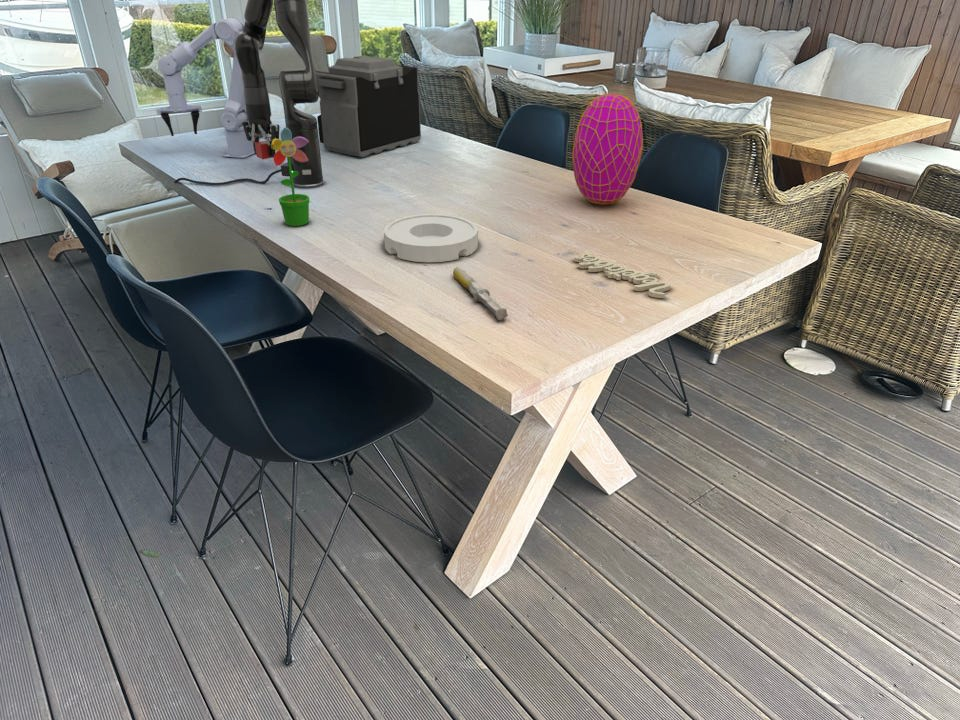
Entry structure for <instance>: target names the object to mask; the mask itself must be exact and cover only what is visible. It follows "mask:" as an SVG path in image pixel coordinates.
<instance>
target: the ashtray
mask: <svg viewBox="0 0 960 720" xmlns="http://www.w3.org/2000/svg"><path fill="white" fill-rule="evenodd" d="M383 238H384V239H383V240H384V249H385V251H386V252H387V253H388V254H390V255H396V256H397V258H398V259H401V260H403V261H410V262H415V263H416V262H417V263H443V262H450V261H455V260H459V257H461V256H464V257H468V256H470V255H472V254H473V253H474V252H475V251H477V249H478V246H479V227H478V225H477V224H475V222H473V221H471V220H469V219H468V218H465V217H461V216H459V215H457V216H456V215H451V214H446V213H445V214H443V213H421V214H420V213H419V214H413V215H407V216H403V217H399V218H397V219H394V220H392V221H391V222H388V223H387V224H386V225H385V226H384V228H383Z"/></svg>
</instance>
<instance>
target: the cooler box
mask: <svg viewBox="0 0 960 720" xmlns="http://www.w3.org/2000/svg"><path fill="white" fill-rule="evenodd" d="M316 75H317V81H318V88H319V98H318V99H319V110H320V111H319V112H320V114H319V115H317V116H316V120H317V127H318V137H319V144H323V146H324V149H325V150H327V151H330V152H335V153H340V154H344V155H348V156H353V157H357V158H362V159H363V158H366V157H367V158H368V157H369V155H371V154H375V155H377V154H381V153H382V152H383V151H391V150H395V149H396V148H397V147H405V146H407V145H408V144H416V143H418V142H419V141H421V137H422V128H421V97H420V92H419V91H420V89H419V68H418V67H417V66H408V65H400V64H396V62H395V60H394V59H393V58H385V57H377V56H367V55H356V56H353V57H350V58H349V57H343V58H342V57H341V58H337V59H336V60H335V63H334V64H333V65H330V66H329V67H328V72H327V71H320V70H316Z"/></svg>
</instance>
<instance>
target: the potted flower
mask: <svg viewBox="0 0 960 720" xmlns="http://www.w3.org/2000/svg"><path fill="white" fill-rule="evenodd" d="M279 137H280V138H279V139H273V141H272V144H271V148H272V149H273V150H275V152H276V153H275V155H274V158H272V159H273V163H274V165H275V167H277V166H281V165H283V164H284V163H285V161H286V160H287V158H288V161H287V162H288V165H289V173H290V176H289V178H284V179H282V180H281V181H280V184H281V185H282V186H285V187H291V193H290V194H286V195H282V196H280V197H279V198H278V202H279V205H280V207H281V210H282V215H283V219H284V223H285V225H287V226H290V227H291V226H292V227H301V226H304V225H306V224H309V222H310V206H309V205H310V196H309V195H307V194H303V193H296V192H295V191H296V190H295V186H294V183H293V178H294V177H296V176H297V175H298V174H299V172H297V171H294V172H292V168H291V160H290V157H292V158H293V159H295V160H296V161H298V162H307V161H308V158H307V156H306V155H305V153H304V152H302V151H301V150H299V149H297V148H301V147H303V146H305V145H306V144H307V143H309V141H308V140H307V139H305V138H304V137H300V136H299V137H295V138H293V139H292V134H291V131H290V130H289V129H288V128H286V127H284V128H283V129H282V130H281V131H280V133H279Z"/></svg>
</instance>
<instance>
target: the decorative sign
mask: <svg viewBox="0 0 960 720" xmlns="http://www.w3.org/2000/svg"><path fill="white" fill-rule="evenodd" d="M574 262H575V263H578V269H588V270H587V272H588V273H598V272H603V273H604V276H606V277H607V278H608V279H614V280H617V281H621V279H622V280H627V281H628V282H630V283H633V284H634V285H633V291H636V292H643V291H647V290H648V293H647V294H648V296H649V297H652V298H656V299H664V298H665V295H666V292H668V291H669V290H670V289H671V283H670V282H668V281H659V279H658V272H657V271H648V272H639V271H637V270H634V269H630V268H628V267H627V266H626V267H625V266H624V265H619V264H618V263H615V262H611V261H610V260H604V258H601V257H598V256H596V255H592V254H590V253H587V252H586V253H582V254H581V255H580V256H578V255H575V256H574Z"/></svg>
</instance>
